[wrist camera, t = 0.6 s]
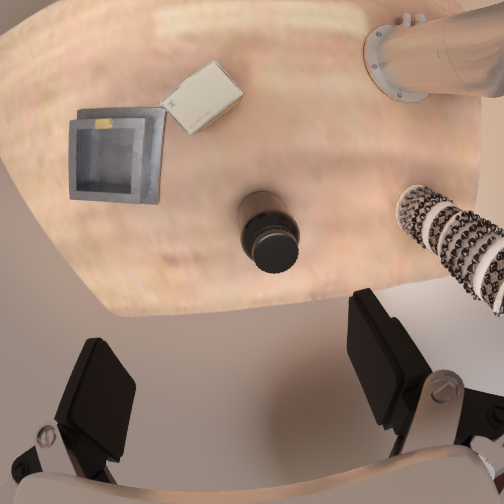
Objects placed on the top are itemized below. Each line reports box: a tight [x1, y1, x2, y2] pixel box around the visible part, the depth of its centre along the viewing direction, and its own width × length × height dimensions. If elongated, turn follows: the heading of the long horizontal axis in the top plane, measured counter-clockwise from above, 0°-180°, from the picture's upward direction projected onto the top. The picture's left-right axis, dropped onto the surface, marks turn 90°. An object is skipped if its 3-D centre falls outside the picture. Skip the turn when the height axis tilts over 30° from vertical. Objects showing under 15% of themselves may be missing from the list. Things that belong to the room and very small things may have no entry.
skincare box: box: [160, 60, 243, 135], centre depth 26 cm, size 6×4×12 cm
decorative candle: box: [395, 185, 504, 317], centre depth 29 cm, size 9×9×25 cm
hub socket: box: [69, 108, 167, 205], centre depth 31 cm, size 13×13×6 cm
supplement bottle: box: [238, 192, 300, 274], centre depth 34 cm, size 7×7×12 cm
